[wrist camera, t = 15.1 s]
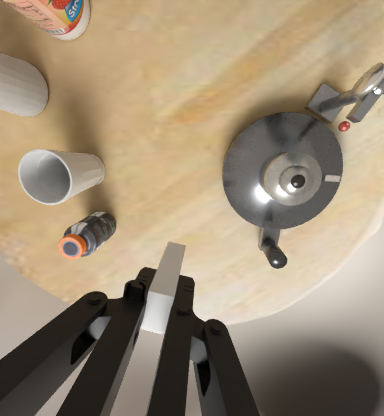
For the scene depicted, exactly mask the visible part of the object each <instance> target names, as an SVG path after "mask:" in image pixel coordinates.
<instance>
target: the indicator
mask: <svg viewBox="0 0 384 416" xmlns="http://www.w3.org/2000/svg"><path fill="white" fill-rule="evenodd" d="M382 94H384V64H383V63H378V64H376V65H374V66H373V67H371V68H370V69H369V70H368V71H367V72H366V73H365V74H363V76H362V77H361V78H360V79H359V80H358V81H357V82H356V84H355V85H354V87H353V88H352V90H349V91H347V92H344V93H342V94H340V93H338V92H337V91H335V90H334V89H332V88H331V87H329V86H328V85H326V84H325V83H323V84H321V85H320V87H319V88H318V90H317V91H316V92H315V94H314V95H313V97H312V98H311V100H310V101H309V103H308V104H307V106H306V107H305V108H307V109H308V110H310V111H311V112H313V113H314V114H316V115H317V116H319V117H320V118H322V119H323V120H325V121H326V122H328V123H332V122H333V121H334V119H335V118H336V117H337V115H338V114H339V112H340V111H341V110H342V108H343V107H344V106H346V105H350V104H353V103H356V102H357V103H356V105H355V106H354V107H353V109H352V110H351V111H350V113H349V114H348V115H347V117H346V118H347V119H349V120H350V121H352V122H353V123H356V122H360V121H361V120H362V119H363V118H364V116H365V115H366V114H367V112H368V111H369V110H370V109H371V107H372V106H373V105H374V103H375V102H376V101H377V100H378V98H379V97H380V96H381V95H382ZM349 128H350V123H349V122H347V121H344V122H341V123H340V124H339V126H338V129H339V130H340V131H347V130H348V129H349Z"/></svg>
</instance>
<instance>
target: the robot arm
mask: <svg viewBox="0 0 384 416" xmlns="http://www.w3.org/2000/svg"><path fill="white" fill-rule="evenodd" d="M185 247H186V246H185V245H181V244H177V243H173V242H168V245H167V247H166V249H165V252H164V254H163V257H162V259H161V262H160V264H159V266H158V269H157V270H156V269H152V268H148V267H144V268H143V269H141V270H140V272H139V274H138V276H137V277H136V279H135V280H131V281H128V282H127V283H126V284H125V288H124V294H123V297H122V298H118V299H108V298H107V296H106V294H104V293H103V292H99V291H94V292H90V293H87V294H86V295H84V296H83V297H81V298H80V299H79V300H78V301H76V302H75V303H74V304H72V305H71V306H70V307H68V308H67V309H66V310H65V311H63V312H62V313H61V314H60V315H58V316H57V317H56V318H54V319H53V320H52V321H50V322H49V323H48V324H46V325H45V326H44V327H42V328H41V329H40V330H38V331H37V332H36V333H35V334H33V335H32V336H31V337H29V338H28V339H27V340H25V341H24V342H23V343H22V344H20V345H19V346H18V347H16V348H15V349H14V350H13V351H11V352H10V353H8V354H7V355H6V356H5V357H3V358H2V359H1V360H0V416H34V415H35V414H36V413H37V412H38V411H39V410H40V409H41V407H42V406H43V405H44V404H45V403H46V402H47V401H48V400H49V398H50V397H51V396H52V395H53V394H54V393H55V392H56V390H57V389H58V388H59V387H60V386H61V385H62V384H63V383H64V381H65V380H66V379H67V378H68V377H69V376H70V374H71V373H72V372H73V371H74V370H75V369H76V368H77V367H78V365H79V364H80V363H81V362H82V361H83V360H84V359H85V358H86V356H87V355H88V354H89V353H90V352H91V351H92V350H93V351H92V352H91V354H90V356H89V358H88V360H87V361H86V363H85V365H84V367H83V368H82V370H81V372H80V374H79V375H78V377H77V379H76V381H75V383H74V385H73V386H72V388H71V390H70V392H69V393H68V395H67V397H66V399H65V400H64V402H63V404H62V406H61V407H60V410H59V411H58V413H57V415H56V416H110V413H111V410H112V407H113V405H114V402H115V399H116V396H117V394H118V391H119V388H120V385H121V383H122V380H123V377H124V374H125V372H126V369H127V366H128V363H129V361H130V358H131V355H132V352H133V350H134V347H135V344H136V341H137V339H138V335H139V330H140V327H141V329H143V330H147V331H152V332H156V333H160V334H164V339H163V343H162V348H161V351H160V356H159V360H158V365H157V369H156V373H155V378H154V382H153V386H152V390H151V395H150V399H149V403H148V408H147V413H146V416H185V408H186V395H187V384H188V372H189V360H190V359H191V360H192V361H193V365H194V370H195V377H196V382H197V388H198V395H199V401H200V406H201V412H202V416H260V415H259V412H258V409H257V407H256V404H255V402H254V399H253V396H252V394H251V391H250V389H249V386H248V383H247V380H246V378H245V375H244V372H243V369H242V367H241V364H240V361H239V359H238V357H237V354H236V351H235V348H234V345H233V343H232V340H231V338H230V335H229V332H228V330H227V328H226V326H225V325H224V324H223V323H222V322H220V321H219V320H216V319H209V320H207V321H206V322H204V321H203V320H201V319H199V318H198V317H197V316H196V315H195V314H194V312H193V297H194V286H195V282H194V280H193V278H191V277H187V276H182V275H179V274H180V270H181V265H182V261H183V256H184V251H185Z"/></svg>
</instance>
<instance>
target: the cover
mask: <svg viewBox="0 0 384 416" xmlns="http://www.w3.org/2000/svg"><path fill="white" fill-rule="evenodd" d="M321 180H322V172H321V168H320V166H319V164H318V162H317V161H316V160H315V159H314V158H313V157H311V156H310V155H308V154H305V153H299V152H280V153H276V154H274V155H272V156H271V157H269V158H268V159H267V160H266V161H265V162H264V163H263V165H262V167H261V169H260V172H259V183H260V186H261V188H262V190H263V191H264V192H265V193H266V194H267V195H269V196H270V197H271V198H273V199H274V200H275V201H277V202H278V203H280V204H283V205H288V206H294V205H299V204H302V203H304V202H306V201H308V200H309V199H311V198H312V197H313V196H314V195H315V193H316V192H317V191H318V189H319V187H320V184H321Z"/></svg>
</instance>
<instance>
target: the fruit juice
mask: <svg viewBox="0 0 384 416" xmlns="http://www.w3.org/2000/svg"><path fill="white" fill-rule="evenodd" d="M2 1H3V2H5V3H6V4H7V5H9V6H10V7H12V8H13V9H14V10H16V11H17V12H19V13H20V14H21V15H23V16H24V17H25V18H27V19H28V20H30V21H31V22H32V23H34V24H35V25H36V26H38V27H39V28H41V29H42V30H43V31H45V32H46V33H48V34H49V35H51V36H53V37H55V38H57V39H60V40H66V41H68V40H73V39H76V38H78V37H79V36H80V35H82V33H83V32H84V31H85V29H86V28H87V26H88V23H89V19H90V4H89V0H2Z"/></svg>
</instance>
